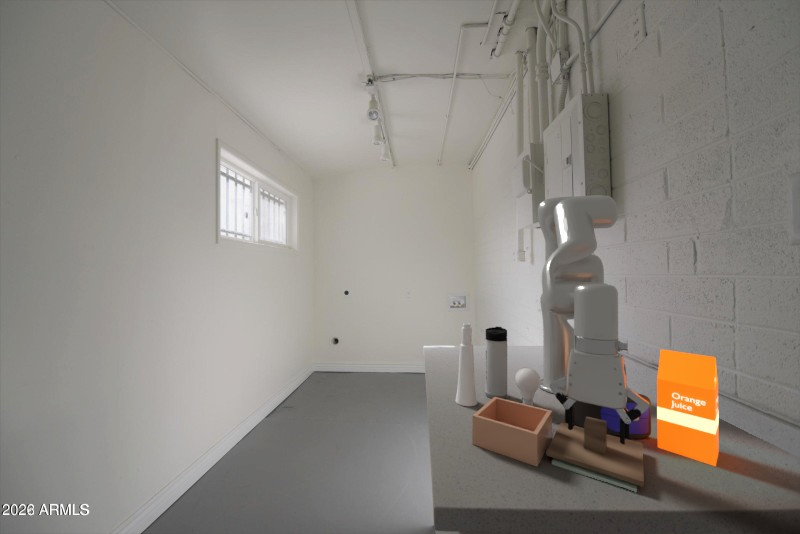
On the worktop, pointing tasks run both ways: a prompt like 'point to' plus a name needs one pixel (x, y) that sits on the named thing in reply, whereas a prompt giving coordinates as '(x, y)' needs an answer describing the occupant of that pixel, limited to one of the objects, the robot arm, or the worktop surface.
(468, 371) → the cosmetic bottle
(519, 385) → the lightbulb
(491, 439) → the salmon open box
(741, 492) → the worktop surface
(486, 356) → the travel mug
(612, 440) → the lid
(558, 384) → the robot arm
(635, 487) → the mat
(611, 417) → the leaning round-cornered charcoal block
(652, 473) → the worktop surface
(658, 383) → the orange juice
